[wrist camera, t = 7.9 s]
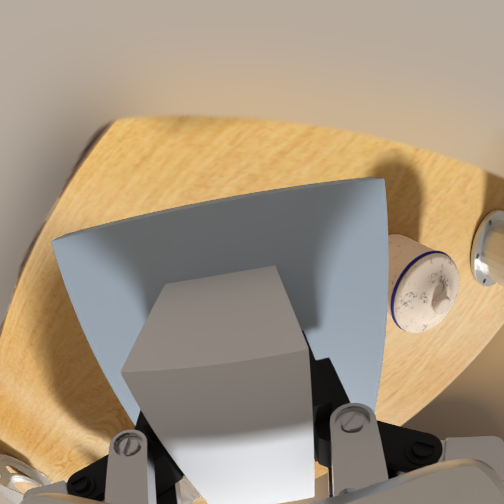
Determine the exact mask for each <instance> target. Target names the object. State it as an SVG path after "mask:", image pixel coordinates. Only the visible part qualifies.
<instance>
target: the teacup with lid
mask: <svg viewBox="0 0 504 504" xmlns="http://www.w3.org/2000/svg"><path fill="white" fill-rule="evenodd" d="M388 251H389V271H388V303H387V312H388V313H389V314H390V315H391V316H392V318H393V320H394V322H395V323H396V325H397V326H398V327H399V328H401V329H402V330H405V331H408V332H412V333H418V332H423V331H426V330H429V329H431V328H432V327H434V326H435V325H437V324H438V323H439V322H440V321H441V320H442V319H443V318H444V317H445V316H446V315H447V314H448V312H449V311H450V309H451V307H452V306H453V304H454V301H455V299H456V296H457V293H458V287H459V275H458V270H457V267H456V265H455V263H454V262H453V260H452V259H451V258H450V257H449V256H448V255H447V254H445V253H444V252H441V251H435V250H433V249H431V248H429V247H427V246H425V245H422V244H420V243H418V242H416V241H414V240H412V239H410V238H408V237H406V236H403V235H400V234H392V235H388Z"/></svg>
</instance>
